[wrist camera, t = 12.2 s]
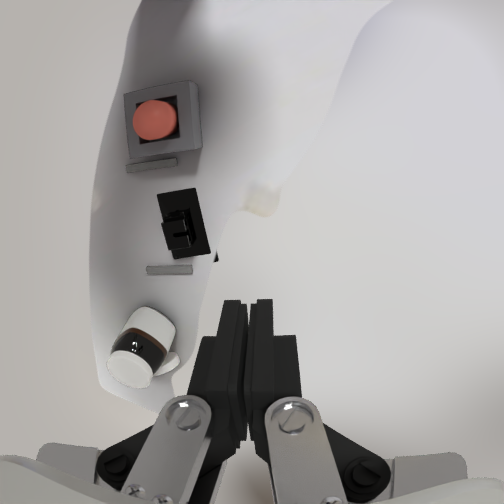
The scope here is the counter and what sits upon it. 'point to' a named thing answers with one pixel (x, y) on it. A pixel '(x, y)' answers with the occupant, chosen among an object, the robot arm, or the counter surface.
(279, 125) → the counter surface
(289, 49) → the counter surface
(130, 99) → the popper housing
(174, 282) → the counter surface
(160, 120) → the plunger
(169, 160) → the strip
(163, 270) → the strip
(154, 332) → the spread jar
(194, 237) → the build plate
